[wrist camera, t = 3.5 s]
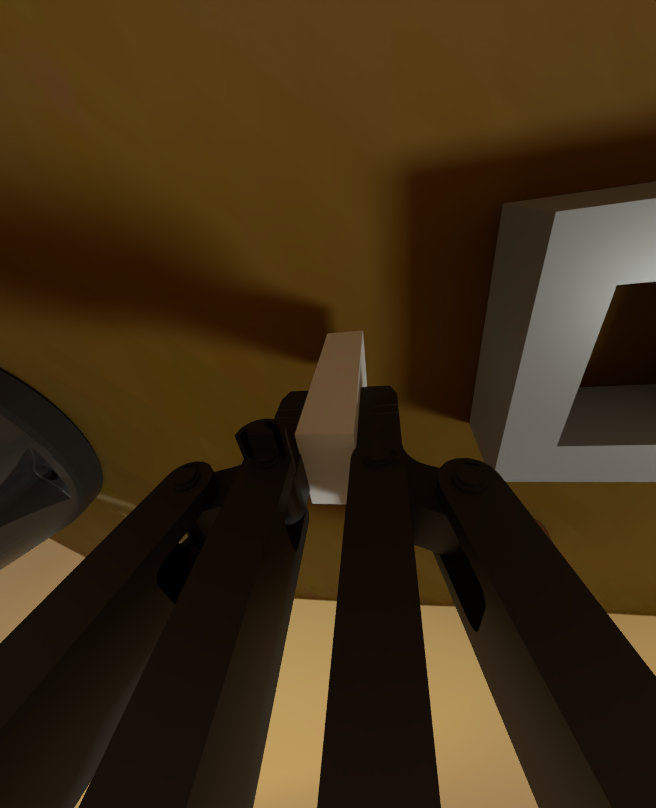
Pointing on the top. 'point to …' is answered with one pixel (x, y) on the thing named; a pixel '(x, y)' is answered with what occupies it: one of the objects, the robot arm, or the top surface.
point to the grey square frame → (564, 340)
